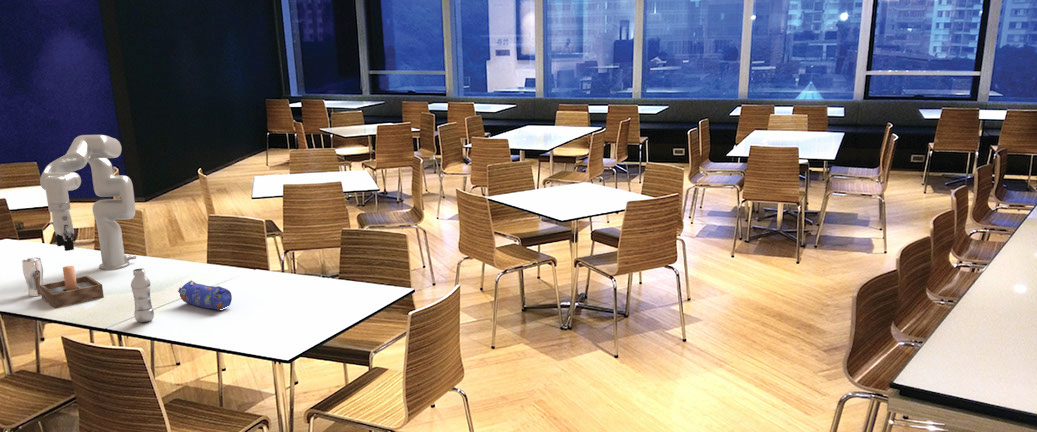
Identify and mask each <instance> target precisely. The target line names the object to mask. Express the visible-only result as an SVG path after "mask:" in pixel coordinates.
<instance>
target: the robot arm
mask: <svg viewBox="0 0 1037 432" xmlns="http://www.w3.org/2000/svg"><path fill="white" fill-rule="evenodd" d="M121 153H122V145H121V142H120V141H119V140H118V139H117V138H114V137H111V136H109V135H105V134H81V135H78V136H77V137H75V138H74V139H73V141H72V142H71V145H70V146H69V148H68V150H67V151H66V153H65V155H64V154H63V156H61V157H58V158H57V159H55V160H53V161H52V162H50V163H49V164H47V165H46V166H45V168H44V170H43V172H42V173H41V175H40V179H39V184H40V187H41V188H42V189H43V190H44V191H45V194H46V201H47V207H48V212H49V213H51V218H52V220H51V221H52V225H53V230H54V233H55V239H56V245H57V247H64V251H65V252H68V251H74V250H75V247H74V240H73V235H75V230H74V225H73V220H72V216H71V212H70V210H71V204H70V203H71V202H70V198H69V197H70V196H69V191H74V190H77V189H79V188H80V186H81V184H82V179H81V176H80V175H79V173H77V172H76V171H79V170H81V169H83V168H85V167H86V166H87V164H89V166H90V169H91V176H92V184H93V190H94V193H95V195H96V196H97V197H100V198H104V197H105V198H106V197H107V198H108V199H99V200H97V201H95V202H94V203H93V204H92V214H93V216H94V219H95V222H96V227H97V234H98V242H99V249H100V255H101V262H102V263H101V264H99V265H98V269H100V270H106V271H109V270H110V271H111V270H118V269H124V268H126V267H129V265H130V260H135V259H137V256H136V254H132V255H131V254H130V255H126V254H125V249H124V243H123V242H124V241H123V233H122V228H121V226H120V224H119V223H118V222H117V221H121V220H122V221H123V220H131V219H134V217H135V216H136V201H135V192H134V185H133V182H132V179H131V178H130V177H129V176H127V175H115V174H114V170H113V164H112V162H111V161H110V160H109V159H115V158H116V159H117V158H119V156H121ZM110 197H119V198H114V199H112V198H110ZM109 198H110V199H109Z"/></svg>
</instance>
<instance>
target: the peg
mask: <svg viewBox="0 0 1037 432" xmlns="http://www.w3.org/2000/svg"><path fill="white" fill-rule="evenodd" d="M62 272H63V280H65V287H66V291H70V290H75V289H77V284H76V278H77V277H76V270H75V266H74V265H66V266H63V267H62Z"/></svg>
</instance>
